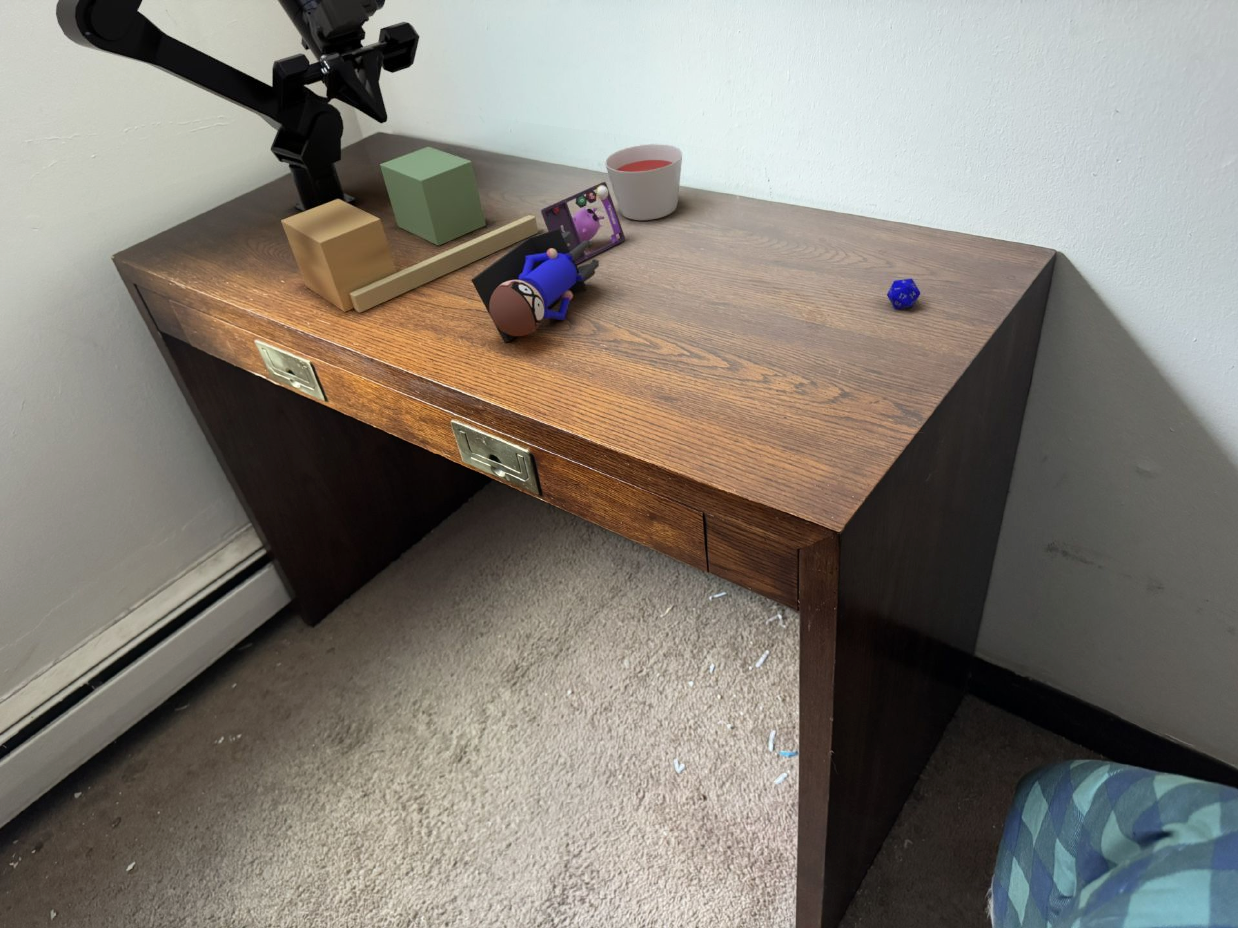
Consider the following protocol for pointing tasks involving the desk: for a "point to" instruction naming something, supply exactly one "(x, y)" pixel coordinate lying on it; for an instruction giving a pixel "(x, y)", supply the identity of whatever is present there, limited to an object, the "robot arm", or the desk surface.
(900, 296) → the die
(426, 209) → the green block
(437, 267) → the straightedge
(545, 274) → the character figurine
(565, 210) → the game card
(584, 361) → the desk surface
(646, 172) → the candle
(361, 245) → the maple block
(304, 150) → the robot arm
